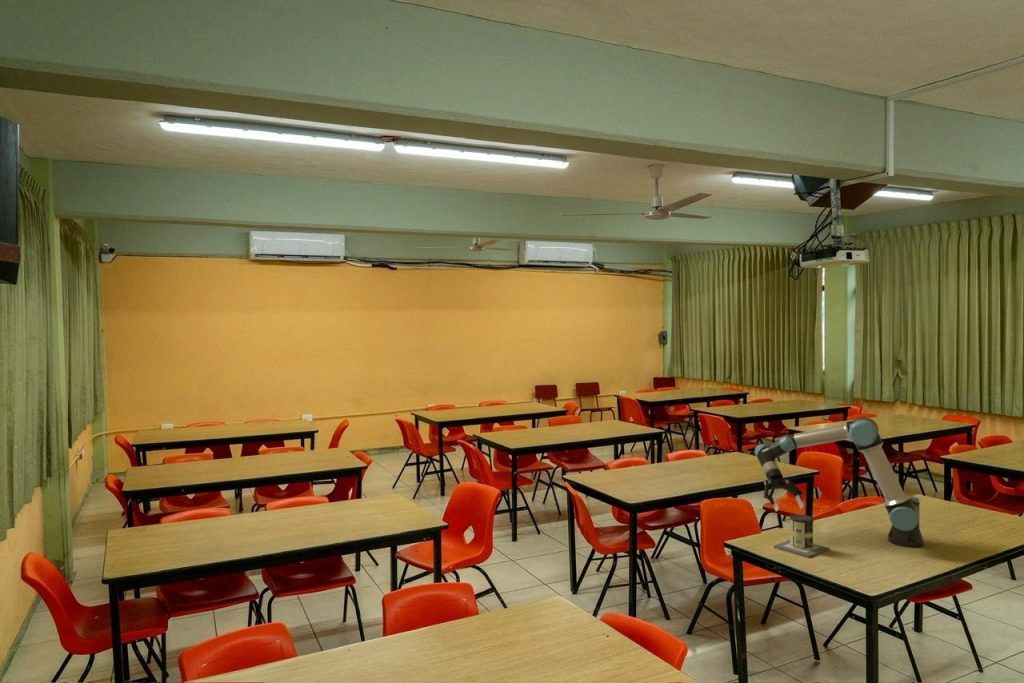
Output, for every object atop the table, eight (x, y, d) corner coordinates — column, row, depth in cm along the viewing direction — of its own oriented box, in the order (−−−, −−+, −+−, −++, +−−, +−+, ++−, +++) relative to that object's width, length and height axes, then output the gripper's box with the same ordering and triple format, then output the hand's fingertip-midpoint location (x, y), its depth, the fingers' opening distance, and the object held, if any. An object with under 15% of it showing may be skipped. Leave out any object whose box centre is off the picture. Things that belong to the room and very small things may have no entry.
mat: (829, 549, 317) (829, 547, 317) (808, 558, 307) (808, 555, 307) (794, 540, 332) (794, 537, 332) (773, 547, 321) (773, 545, 321)
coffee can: (810, 543, 323) (810, 514, 323) (815, 550, 313) (815, 521, 313) (788, 542, 326) (788, 513, 325) (792, 549, 316) (792, 520, 315)
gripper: (791, 474, 346) (809, 511, 332) (747, 477, 342) (764, 514, 327) (797, 466, 341) (816, 503, 327) (753, 469, 336) (770, 506, 322)
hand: (790, 509), depth 327 cm, fingers open, 13 cm apart
